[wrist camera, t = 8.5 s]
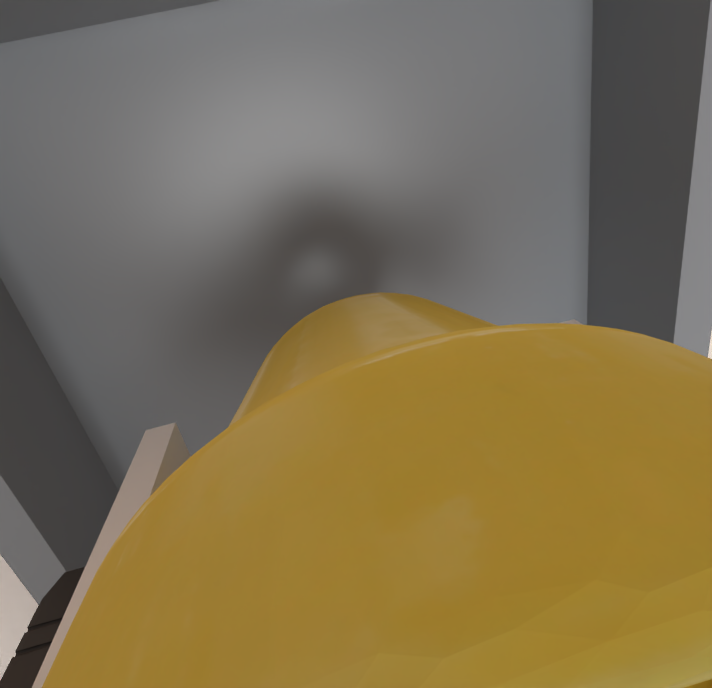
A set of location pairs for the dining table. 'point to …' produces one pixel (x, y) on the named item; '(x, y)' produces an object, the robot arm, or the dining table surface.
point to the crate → (316, 203)
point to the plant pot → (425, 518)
